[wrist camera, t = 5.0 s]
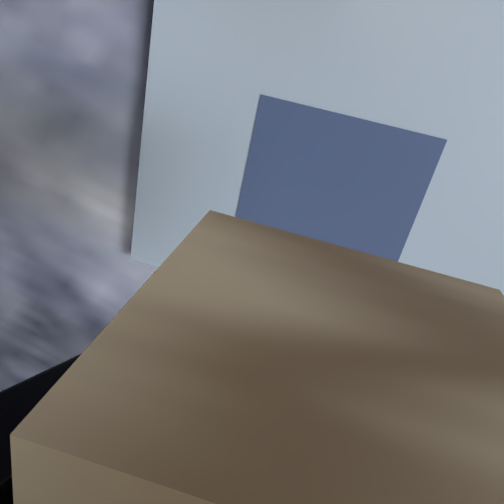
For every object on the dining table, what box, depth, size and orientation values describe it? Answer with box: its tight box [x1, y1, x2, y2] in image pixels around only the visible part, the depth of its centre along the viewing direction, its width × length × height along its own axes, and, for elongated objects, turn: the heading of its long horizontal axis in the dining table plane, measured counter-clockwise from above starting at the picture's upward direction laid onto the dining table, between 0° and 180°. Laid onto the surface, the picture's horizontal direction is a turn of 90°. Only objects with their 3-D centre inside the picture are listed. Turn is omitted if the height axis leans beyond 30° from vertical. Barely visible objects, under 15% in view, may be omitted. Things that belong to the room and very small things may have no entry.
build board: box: [130, 0, 504, 295], centre depth 14 cm, size 24×18×1 cm
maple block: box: [10, 210, 504, 504], centre depth 6 cm, size 5×5×5 cm
